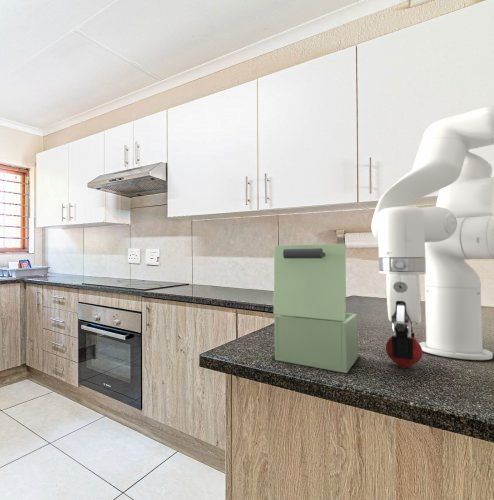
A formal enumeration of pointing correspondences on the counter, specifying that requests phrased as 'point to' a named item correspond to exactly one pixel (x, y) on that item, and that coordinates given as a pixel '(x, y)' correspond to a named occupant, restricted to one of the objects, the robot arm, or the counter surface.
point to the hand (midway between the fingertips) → (403, 353)
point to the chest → (317, 341)
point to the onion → (401, 361)
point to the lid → (310, 281)
